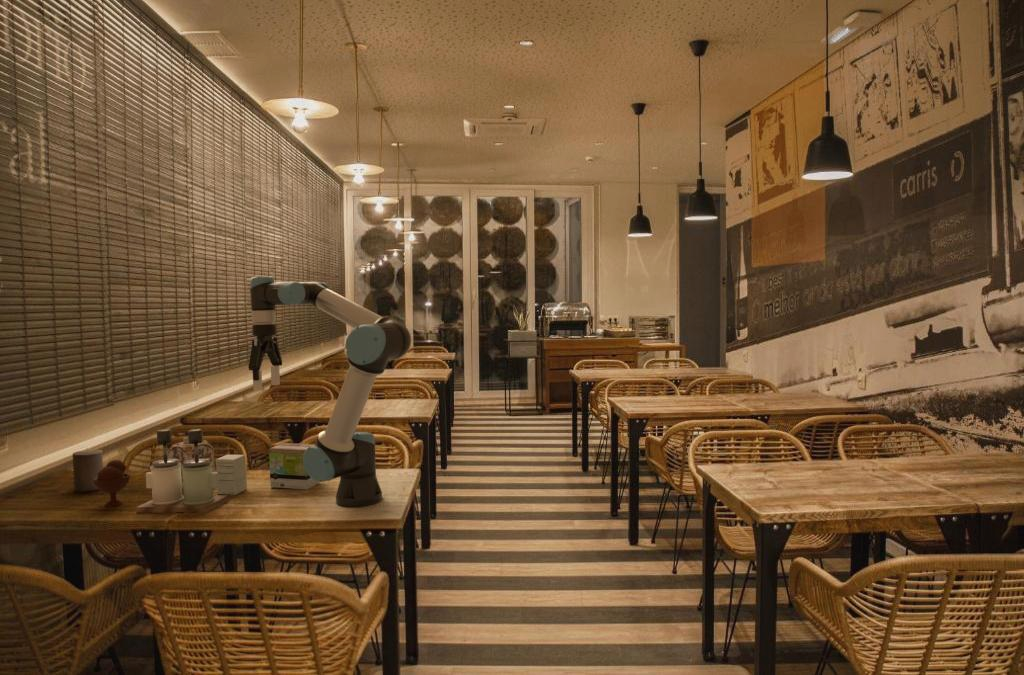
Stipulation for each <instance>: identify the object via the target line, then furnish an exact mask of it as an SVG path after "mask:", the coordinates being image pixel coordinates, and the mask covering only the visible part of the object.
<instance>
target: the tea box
mask: <svg viewBox="0 0 1024 675" xmlns="http://www.w3.org/2000/svg"><path fill="white" fill-rule="evenodd" d="M314 445H315V443H314V444H313V443H290V442H289V443H288V442H287V443H286V442H283V443H280V444H277V445H275V446H273V447H270V448H268V459H269V461H268V462H269V482H270V483H269V484H270V488H277V489H278V488H280V489H294V490H304V491H305V490H309V489H311V488H313V487H315V486H317V485H318V484H320V483H321V482H317V481H315V480H313V479H312V478H311V477H310V476H309V475H308V474H307V472H306V471H305V467H304V465H303V454H304V452H305V450H306V449H307V448H309V447H310V446H314Z"/></svg>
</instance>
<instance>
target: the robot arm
mask: <svg viewBox="0 0 1024 675" xmlns="http://www.w3.org/2000/svg"><path fill="white" fill-rule="evenodd" d="M249 293H250V309H251V310H250V311H251V314H250V316H251V323H252V325H251V328H252V329H251V333H252V336H254V337H256V339H253V338H252V339H251V350H250V357H249V362H248V371H252V388H253V391H263V374H262V370H261V367H262V363H263V360H264V356H265V355H266V354H267V357H268V359H269V362H270V363H271V365H270V378H271V379H270V380H271V382H270V383H271V386H279V385H281V378H280V366H282V365H283V359H282V355H281V352H280V351H281V350H280V348H279V344H278V338H277V336H276V335H277V325H276V322H277V315H276V314H277V313H276V306H296V305H302V306H303V305H311V306H313V307H314V308H317V309H319V310H320V311H322V312H324V313H325V314H328V316H329V315H330V316H332V317H333V318H335V319H336V320H338V321H341V323H344V324H345V325H347V326H349V327H351V328H353V329H352V330H351V331H350V332H349V334H348V335H347V337H346V340H345V345H344V347H345V349H346V351H345V353H346V356H347V359H346V361H347V363H348V364H349V368H348V370H347V373H346V374H345V375H346V376H345V378H344V381H343V382H342V383H343V384H342V386H341V389H340V392H339V394H338V397H337V399H336V402H335V405H334V407H333V410H332V412H331V415H330V418H329V419H328V420H329V421H328V422H327V426H326V429H325V430H323V431H320V432H319V433H318V435H317V438H316V441H315V443H314V444H315V445H314V446H310V447H309V448H307V449H306V450H305V452H304V454H303V465H304V467H305V471H306V472H307V474H308V475H309V476H310V477H311V478H312V479H313V480H315V481H317V482H320V483H323V482H330V481H332V480H335V479H337V478H340V479H339V484H338V486H337V491H336V493H335V494H336V495H335V503H336V505H339V506H342V507H364V506H370V505H374V504H377V503H380V502H381V501H382V499H383V492H382V489H381V486H380V484H379V480H378V478H377V469H376V468H377V467H376V466H377V465H376V442H375V435H374V434H373V433H372V432H367V431H356V430H357V427H358V425H359V422H360V420H361V417H362V415H363V411H364V409H365V407H366V405H367V403H368V402H367V401H368V399H369V396H370V394H371V391H372V388H373V385H374V383H375V381H376V379H377V376H380V375H382V374H383V373H385V372H384V371H385V370H386V367H387V364H388V362H389V361H392V360H398V359H401V358H402V357H404V356H405V355H406V354H407V353H408V352H409V350H410V347H411V346H412V336H411V332H410V331H409V329H408V328H407V326H405V325H404V324H403V323H402V322H400V321H399V320H397V319H394V318H392V317H390V316H388V315H385V316H382V315H379V314H377V313H376V312H373V311H372V310H370V309H368V308H366V307H365V306H362V305H361V304H358V303H357V302H354V300H353V301H352V300H351V299H349V298H346V297H345V296H343V295H341V294H339V293H337V292H335V291H333V290H332V288H331V287H330V286H329V284H328V283H326V282H322V281H293V280H292V281H291V280H290V281H289V280H288V281H280V282H279V281H276V282H275V279H274V277H273V276H253V277H251V278H250V284H249Z"/></svg>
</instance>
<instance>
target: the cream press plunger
mask: <svg viewBox="0 0 1024 675" xmlns="http://www.w3.org/2000/svg"><path fill="white" fill-rule="evenodd" d="M172 436H173V435H172V429H168V428H167V429H158V430H156V443H157V444H159V445H161V444H162V455H163V456H162V457H163V459H158V460H155V461H153V462H151V463H152V465H151V466H155V467H164V466H171V465H175V464H178V463H179V460H178V459H168V445H167V444H171V443H172V442H173V441H172V439H173V438H172Z"/></svg>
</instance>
